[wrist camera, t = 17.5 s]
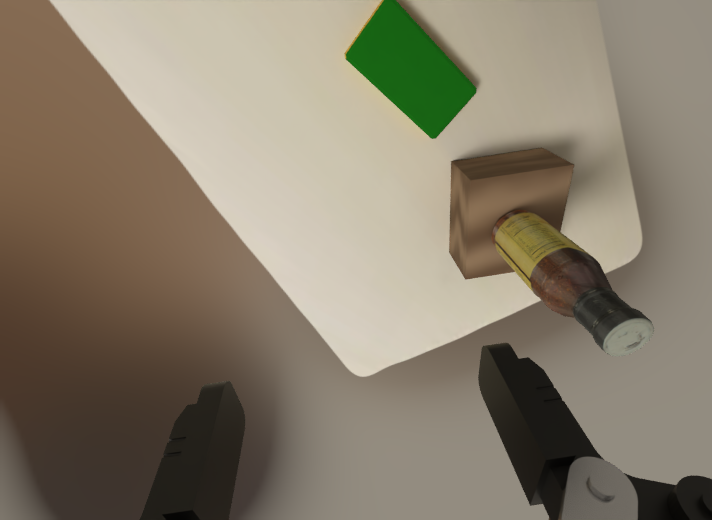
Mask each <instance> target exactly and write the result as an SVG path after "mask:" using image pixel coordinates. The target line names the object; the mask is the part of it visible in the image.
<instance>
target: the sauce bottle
mask: <svg viewBox="0 0 712 520" xmlns="http://www.w3.org/2000/svg"><path fill="white" fill-rule="evenodd" d="M491 238H492V242H493V245H494V246H495V247H496V249H497V251H498V253H499V254H500V255H501V256H502V257H503V258H504V260H505V261H506V262H507V263H508V264H509V265H510V267H511V268H512V269H513V270H514V271H515V272H516V273H517V274H518V275H519V277H520V278H521V279H522V280H523V281H524V282H525V283H526V285H527V286H528V287H529V288H530V289H531V290H532V291H533V292H534V294H535V295H537V296H538V297H540V299H541V300H542V301H543V302H544V303H545V305H546V306H548V307H549V308H550V309H551V310H553V311H555V312H557V313H560V314H561V315H563V316H568V317H575V318H576V320H577V321H578V322H579V323H580V324H582V325H583V326H584V327H585V328H586V329H587V330H588V331H589V332H590V333H591V334H592V335H593V338H594V340H595V342H596V343H597V344H598V345H599V346H600V347H601V349H602V350H604V351H605V352H606V353H607V354H609V355H612V356H625V355H628V354H631V353H633V352H635V351H637V350H638V349H640V348H641V347H642V346H644V345H645V344H646V343H647V342H648V341H649V340H650V338H651V337H652V335H653V332H654V327H653V324H652V322H651V321H650V320H649V319H648V318H647V317H646V316H644V315H643V314H642V313H641V312H640V311H638V310H636V309H633V308H631V307H630V306H629V305H627V304H626V303H625V302H624V301H623V300H621V299H620V298H619V297H618V295H617V294H616V293H615V292H614V291H613V290H612V288H611V286H610V284H609V282H608V280H607V278H606V276H605V274H604V272H603V270H602V268H601V266H600V264H599V263H598V261H597V260H596V259H595V258H593V257H592V256H591V255H589V254H588V253H587V252H585V251H584V250H583V249H581V248H580V247H579V246H578V245H576V244H575V243H574V242H573V241H571V240H570V239H569V238H567V237H566V236H564V235H563V234H562V233H561V232H559V231H558V230H557V229H555V228H554V227H553V226H551V225H550V224H549V223H548V222H546V221H545V220H544V219H542V218H541V217H540V216H538V215H536V214H534V213H531V212H529V211H524V210H516V211H512V212H510V213H508V214H506V215H504V216H503V217H502V218H500V219H499V220H498V221H497V223H496V224H495V226H494V229H493V232H492V236H491Z"/></svg>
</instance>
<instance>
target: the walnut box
mask: <svg viewBox="0 0 712 520" xmlns="http://www.w3.org/2000/svg"><path fill="white" fill-rule="evenodd" d="M573 168H574V164H572V163H570V162H568V161H566V160H564V159H562V158H560V157H559V156H557V155H555V154H553V153H551V152H549V151H547V150H545V149H543V148H538V149H531V150H524V151H518V152H511V153H504V154H497V155H491V156H484V157H477V158H471V159H464V160H457V161H451V202H450V246H449V253H450V254H451V256H452V258H453V259H454V261H455V263H456V264H457V266H458V268H459V269H460V271H461V273H462V274H463V276H464V278H465V279H471V278H478V277H484V276H491V275H497V274H504V273H510V272H515V271H514V270H513V269H512V268H511V267H510V265H509V264H508V263H507V262H506V261H505V260H504V258H503V257H502V256H501V255H500V254H499V253H498V251H497V249H496V247H495V246H494V245H493V242H492V238H491V236H492V232H493V229H494V226H495V224H496V223H497V221H498V220H499V219H500V218H502V217H503V216H504V215H506V214H508V213H510V212H512V211H516V210H524V211H529V212H531V213H534V214H536V215H538V216H540V217H541V218H542V219H544V220H545V221H546V222H548V223H549V224H550V225H551V226H553V227H554V228H555V229H557V230H558V231H559V232H560V230H561V226H562V221H563V216H564V211H565V206H566V202H567V197H568V192H569V187H570V182H571V178H572V173H573Z"/></svg>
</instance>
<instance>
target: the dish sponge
mask: <svg viewBox="0 0 712 520" xmlns="http://www.w3.org/2000/svg"><path fill="white" fill-rule="evenodd" d="M345 59H346V60H347V61H348V62H350V63H351V64H352V65H353V66H354V67H355V68H356V69H357V70H358V71H359V72H360V73H361V74H362V75H364V76H365V77H366V78H367V79H368V80H369V81H370V82H371V83H372V84H373V85H374V86H375V87H376V88H378V89H379V90H380V91H381V92H382V93H383V94H384V95H385V96H386V97H387V98H388V99H389V100H390V101H392V102H393V103H394V104H395V105H396V106H397V107H398V108H399V109H400V110H401V111H402V112H403V113H405V114H406V115H407V116H408V117H409V118H410V119H411V120H412V121H413V122H414V123H415V124H416V125H417V126H419V127H420V128H421V129H422V130H423V131H424V132H425V133H426V134H427V135H428V136H429V137H430V138H431V139H434V138H436V137H437V136H438V135H439V134H440V133H441V132H442V131H443V130H444V128H445V127H446V126H447V125H448V124H449V123H450V122H451V121H452V119H453V118H454V117H455V116H456V115H457V114H458V113H459V112H460V110H461V109H462V108H463V107H464V106H465V105H466V104H467V103H468V101H469V100H470V99H471V98H472V97H473V96H474V95H475V94H476V87H475V86H474V85H473V84H472V83H471V82H470V81H469V79H468V78H467V77H466V76H465V75H464V74H463V73H462V72H461V71H460V70H459V69H458V68H457V66H456V65H455V64H454V63H453V62H452V61H451V60H450V59H449V58H448V57H447V56H446V54H445V53H444V52H443V51H442V50H441V49H440V48H439V47H438V46H437V45H436V44H435V42H434V41H433V40H432V39H431V38H430V37H429V36H428V35H427V34H426V33H425V32H424V31H423V29H422V28H421V27H420V26H419V25H418V24H417V23H416V22H415V21H414V20H413V19H412V17H411V16H410V15H409V14H408V13H407V12H406V11H405V10H404V9H403V8H402V7H401V6H400V4H399V3H398V2H397V1H396V0H382V1H381V2H380V4H379V5H378V7H377V8H376V10H375V11H374V12H373V14H372V15H371V17H370V18H369V19H368V21H367V22H366V24H365V25H364V27H363V28H362V29H361V31H360V32H359V34H358V35H357V36H356V38H355V39H354V41H353V42H352V44H351V45H350V46H349V48H348V49H347V51H346V52H345Z"/></svg>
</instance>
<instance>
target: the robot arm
mask: <svg viewBox="0 0 712 520" xmlns="http://www.w3.org/2000/svg"><path fill="white" fill-rule="evenodd" d="M478 378H479V386H480V391H481V394H482V396H483V399H484V401H485V403H486V406H487V408H488V410H489V412H490V415H491V417H492V419H493V422H494V424H495V426H496V428H497V430H498V433H499V435H500V438H501V440H502V442H503V444H504V447H505V449H506V451H507V453H508V456H509V458H510V460H511V463H512V465H513V467H514V469H515V472H516V474H517V476H518V479H519V481H520V483H521V485H522V488H523V490H524V492H525V495H526V497H527V499H528V501H529V504H530V505H537V504H543V505H544V507H545V509H546V511H547V513H548V515H549V520H712V479H710V478H706V477H702V476H687V477H684V478H682V479H681V480H680V481H679V482H678V484H677V485H672V484H666V483H661V482H656V481H650V480H645V479H639V478H635V477H632V476H630V475H627V474H625V473H623V472H622V471H621V470H620V469H618V468H617V467H615V466H614V465H612V464H611V463H609V462H607V461H605V460H604V459H603V458H602V457H601V456H600V455H599V454H598V453H597V451H596V450H595V449H594V447H593V445H592V444H591V442H590V441H589V439H588V438H587V436H586V435H585V433H584V432H583V430H582V428H581V427H580V425H579V424H578V422H577V421H576V419H575V418H574V416H573V415H572V413H571V411H570V410H569V408H568V407H567V405H566V404H565V402H564V401H562V398H561V396H560V394H559V393H558V392H557V390H556V389H555V388H554V386H553V384H552V382H551V381H550V379H549V377H548V376H547V374H546V373H545V371H544V370H543V369H542V368H541V367H539V366H538V365H537V364H535V362H533V361H532V360H531V359H530V358H522V359H518V357H517V355H516V354H515V352H514V351H513V349H512V347H511V346H510V345H509V344H508V343H501V344H494V345H487V346H483V347H482V352H481V360H480V368H479V377H478ZM244 431H245V414H244V410H243V408H242V406H241V403H240V401H239V399H238V396H237V394H236V392H235V390H234V388H233V386H232V384H231V382H230V381H226V382H219V383H212V384H206V385H204V386H203V387H202V389H201V392H200V395H199V398H198V401H197V404H192V405H187V406H186V408H185V409H184V410H183V412H182V413H181V414H180V416H179V417H178V419H177V420H176V421H175V423H174V427H173V429H172V432H171V435H170V437H169V443H167V446H166V449H165V451H164V457H163V458H162V460H161V463H160V466H159V468H158V471H157V474H156V477H155V480H154V483H153V485H152V488H151V491H150V494H149V497H148V499H147V502H146V505H145V508H144V511H143V513H142V516H141V518H140V520H229V514H230V509H231V503H232V498H233V492H234V487H235V481H236V475H237V470H238V464H239V459H240V453H241V447H242V442H243V436H244Z"/></svg>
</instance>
